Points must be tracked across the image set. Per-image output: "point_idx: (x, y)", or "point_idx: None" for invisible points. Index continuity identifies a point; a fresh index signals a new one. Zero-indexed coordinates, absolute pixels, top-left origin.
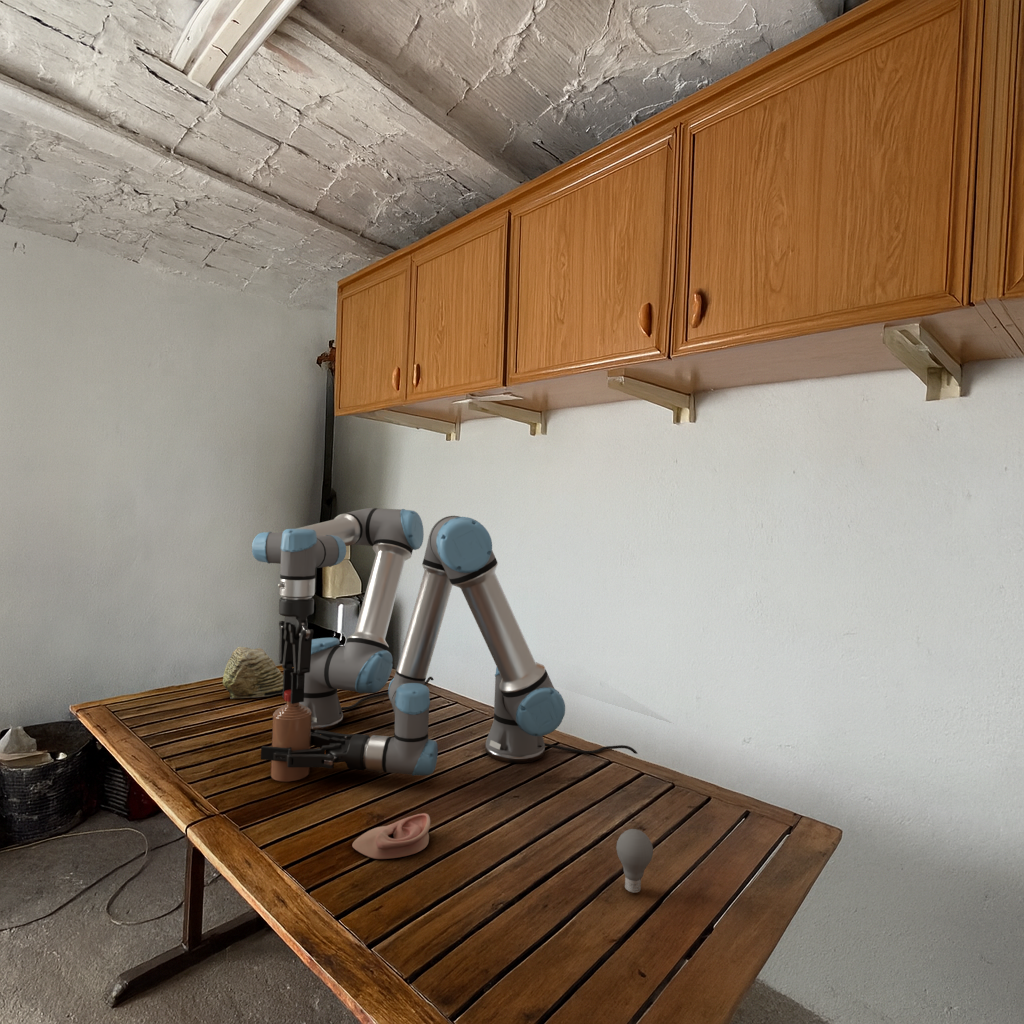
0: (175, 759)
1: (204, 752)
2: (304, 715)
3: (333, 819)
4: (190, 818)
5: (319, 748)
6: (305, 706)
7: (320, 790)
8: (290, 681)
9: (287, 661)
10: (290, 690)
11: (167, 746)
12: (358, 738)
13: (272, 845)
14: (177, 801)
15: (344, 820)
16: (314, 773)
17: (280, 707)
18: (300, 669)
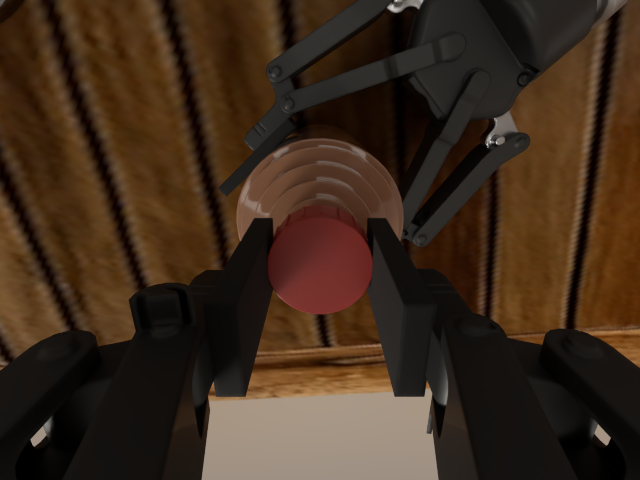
0: (104, 344)
1: (86, 290)
2: (395, 202)
3: (596, 192)
4: (390, 381)
5: (435, 144)
6: (320, 166)
7: (456, 153)
8: (260, 291)
9: (201, 439)
10: (294, 275)
11: (16, 340)
12: (569, 12)
13: (578, 315)
14: (312, 382)
15: (619, 175)
16: (356, 121)
17: None
18: (601, 456)
